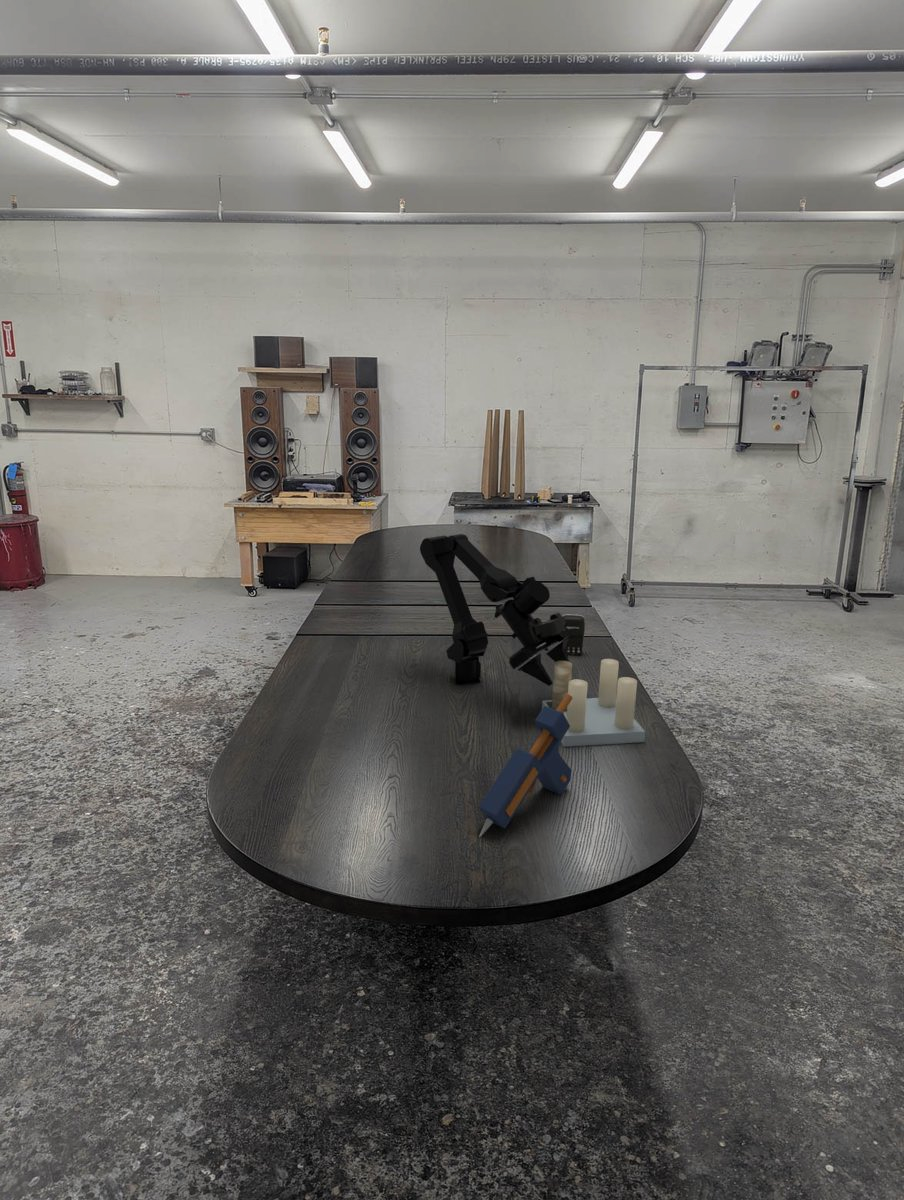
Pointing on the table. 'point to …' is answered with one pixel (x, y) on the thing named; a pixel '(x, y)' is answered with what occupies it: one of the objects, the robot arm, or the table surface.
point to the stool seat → (602, 710)
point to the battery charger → (574, 633)
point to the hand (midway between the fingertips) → (560, 678)
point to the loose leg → (561, 682)
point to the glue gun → (530, 769)
